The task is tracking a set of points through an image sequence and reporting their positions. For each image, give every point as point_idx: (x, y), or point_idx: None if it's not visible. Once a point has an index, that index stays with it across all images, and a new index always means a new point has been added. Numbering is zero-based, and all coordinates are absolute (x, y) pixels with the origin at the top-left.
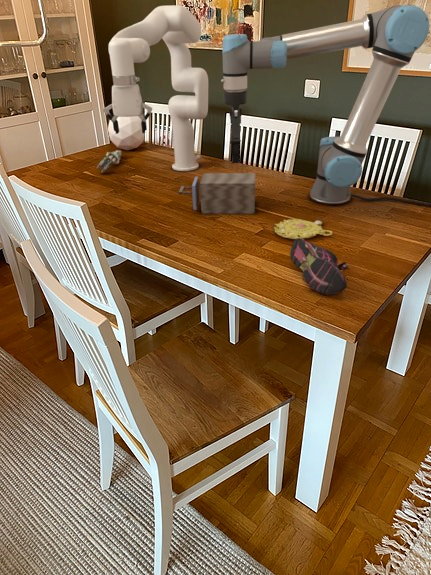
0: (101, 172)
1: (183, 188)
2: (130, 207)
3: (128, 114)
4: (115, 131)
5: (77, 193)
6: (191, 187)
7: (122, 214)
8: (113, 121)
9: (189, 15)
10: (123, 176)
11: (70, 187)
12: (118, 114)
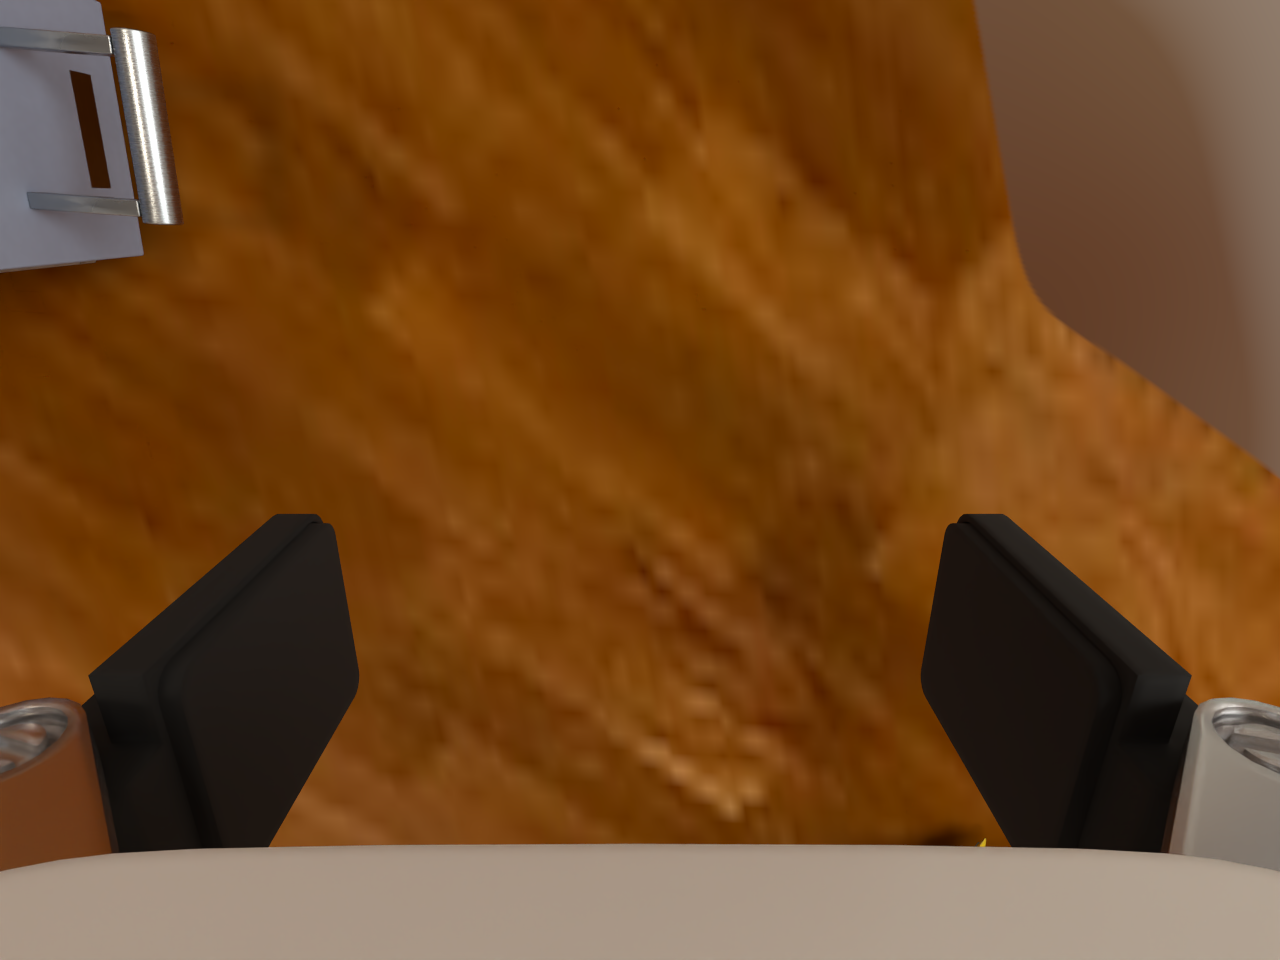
0: (985, 841)
1: (133, 164)
2: (689, 176)
3: (567, 904)
4: (1024, 533)
5: (1140, 506)
6: (61, 194)
7: (736, 8)
8: (1231, 736)
9: None
10: (822, 798)
11: (1195, 625)
12: (1209, 915)
